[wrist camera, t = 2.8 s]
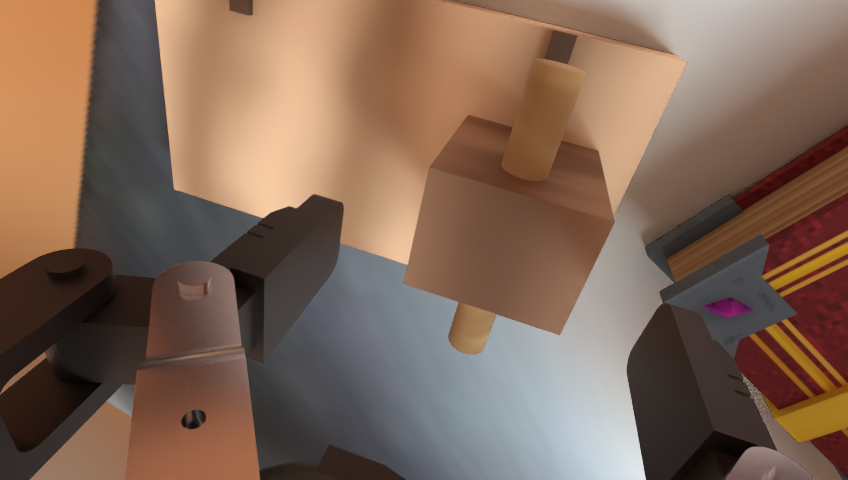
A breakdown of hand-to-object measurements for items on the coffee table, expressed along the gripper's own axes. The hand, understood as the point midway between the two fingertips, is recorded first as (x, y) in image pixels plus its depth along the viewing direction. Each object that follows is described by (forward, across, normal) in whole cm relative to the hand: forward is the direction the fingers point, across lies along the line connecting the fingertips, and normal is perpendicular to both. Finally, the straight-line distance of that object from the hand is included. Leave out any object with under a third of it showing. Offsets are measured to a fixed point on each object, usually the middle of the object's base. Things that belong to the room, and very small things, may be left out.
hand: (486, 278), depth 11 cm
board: (+10, +6, 0) cm, 11 cm away
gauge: (+8, 0, 0) cm, 8 cm away
